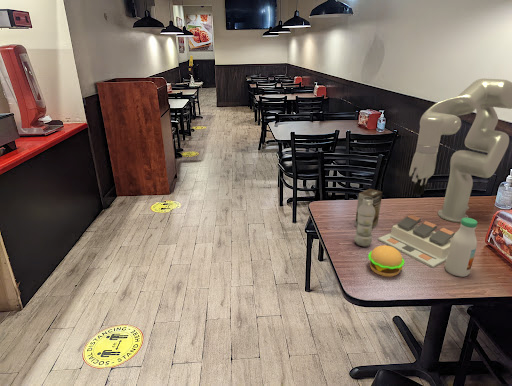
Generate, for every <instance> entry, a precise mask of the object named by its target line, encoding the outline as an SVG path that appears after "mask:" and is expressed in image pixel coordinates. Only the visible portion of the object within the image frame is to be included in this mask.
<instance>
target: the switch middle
mask: <svg viewBox="0 0 512 386" xmlns="http://www.w3.org/2000/svg"><path fill="white" fill-rule="evenodd" d="M418 225H419V226H418V227H417V228H415V229H414V230H413V233H414V234H417V235H419V236H421V237H423V238H425V237H426V236H428V235H429V234H430V233H431V232H433V231H434V232H435V230H436V229H438V225H437V224H436V223H432V222H430V221H427V220H424V221H423V222H422V223H420V224H418Z"/></svg>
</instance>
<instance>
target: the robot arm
mask: <svg viewBox="0 0 512 386" xmlns="http://www.w3.org/2000/svg"><path fill="white" fill-rule="evenodd" d="M495 108H498V109H508V110H511V109H512V81H510V80H507V79H498V78H497V79H496V78H479V79H477V80H474V81H473V82H472V83H471V84H470V85H469V86H467V87H466V88H465V89H464V90H463V91H462V92H460V93H459V94H458V95H457V96H453V97H450V98H447V99H445V100H442V101H439V102H436V103H434V104H433V105H432V106H430V107H429V108H428V109H427V110H425V112H424V113H423V114H422V115H421V117H420V120H419V131H418V136H417V143H416V147H415V148H416V149H415V152H414V154H413V158H412V161H411V165H410V169H409V173H408V177H412V179H411V182H414V189H413V193H414V194H417V195H418V196H421V195H424V192H425V189H426V185H427V182H428V180H429V179H430V178H431V177H432V176H433V175H434V174H435V170H436V164H437V155H438V152H439V147H440V141H441V137H442V136H443V135H444V136H450V135H451V136H452V135H454V134H457V133H458V131H459V130H460V129H461V126H462V121H461V118H460V117H459V116H464V115H469V114H471V113H472V114H473V112H474V111H476V113H475V118H474V120H473V123H472V125H471V127H470V128H469V131H468V132H467V135H466V137H465V139H464V145H465V147H466V148H468V149H470V150H473V151H470V150H464V149H461V150H460V149H459V150H456V151H455V152H453V154H451V155H452V156H451V157H450V161H449V162H450V163H449V164H450V169H449V177H448V183H447V187H446V190H445V196H444V200H443V205H442V209H439V210H437V215H438V216H439V218H441V219H443V220H444V221H448V222H451V223H453V222H454V223H461V220H462V218H469V216H468V214H466V213H467V211H468V210H469V209H470V207H469V201H470V196H471V193H472V189H473V186H474V184H473V183H474V181H473V177H472V176H475V177H478V178H482V179H488V178H491V177H492V176H493V175H494V174H495V172H496V171H497V169H498V167H499V165H500V162H502V159H503V157H504V155H505V153H506V152H507V149H508V147H509V144H510V136H509V134H507V133H506V132H504V131H500V130H495V129H496V127H497V125H498V123H499V122H498V121H499V117H498V115H497V112H496V109H495ZM475 151H478V152H475ZM480 152H482V153H480ZM484 153H487V154H484Z"/></svg>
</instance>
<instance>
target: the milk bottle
mask: <svg viewBox="0 0 512 386" xmlns="http://www.w3.org/2000/svg"><path fill="white" fill-rule="evenodd" d="M477 227H478V220H476V219H474V218H471V217H468V218H462V220H461V222H460V227H459V229H458V230H456V232H454V233H455V234H454V236H453V237H452V238H451V239H452V240H451V243H450V247H449V251H448V255H447V259H446V261H445V262H444V263H445V264H444V269H445V270H446V272H447V273H449V274H450V275H452V276H456V277H459V278H460V277H463V278H465V277H467V276H469V275H470V272H471V270H472V267H473V262H474V258H475V255H476V251H477V246H478V240H477V236H476V231H475V230H476V229H477Z"/></svg>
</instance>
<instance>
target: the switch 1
mask: <svg viewBox="0 0 512 386" xmlns="http://www.w3.org/2000/svg"><path fill="white" fill-rule="evenodd" d="M421 221H422V219H421V218H420V217H417V216H415V215H413V214H409V215H407V216H406V217H404V218H403V219H402V220H400V221H399V222H397V223H396V224H397V225H398V226H399V227H401V228H403V229H406V230H408V231H409V230H410V229H411V228H413V227H414V226H415V225H419V223H421Z"/></svg>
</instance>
